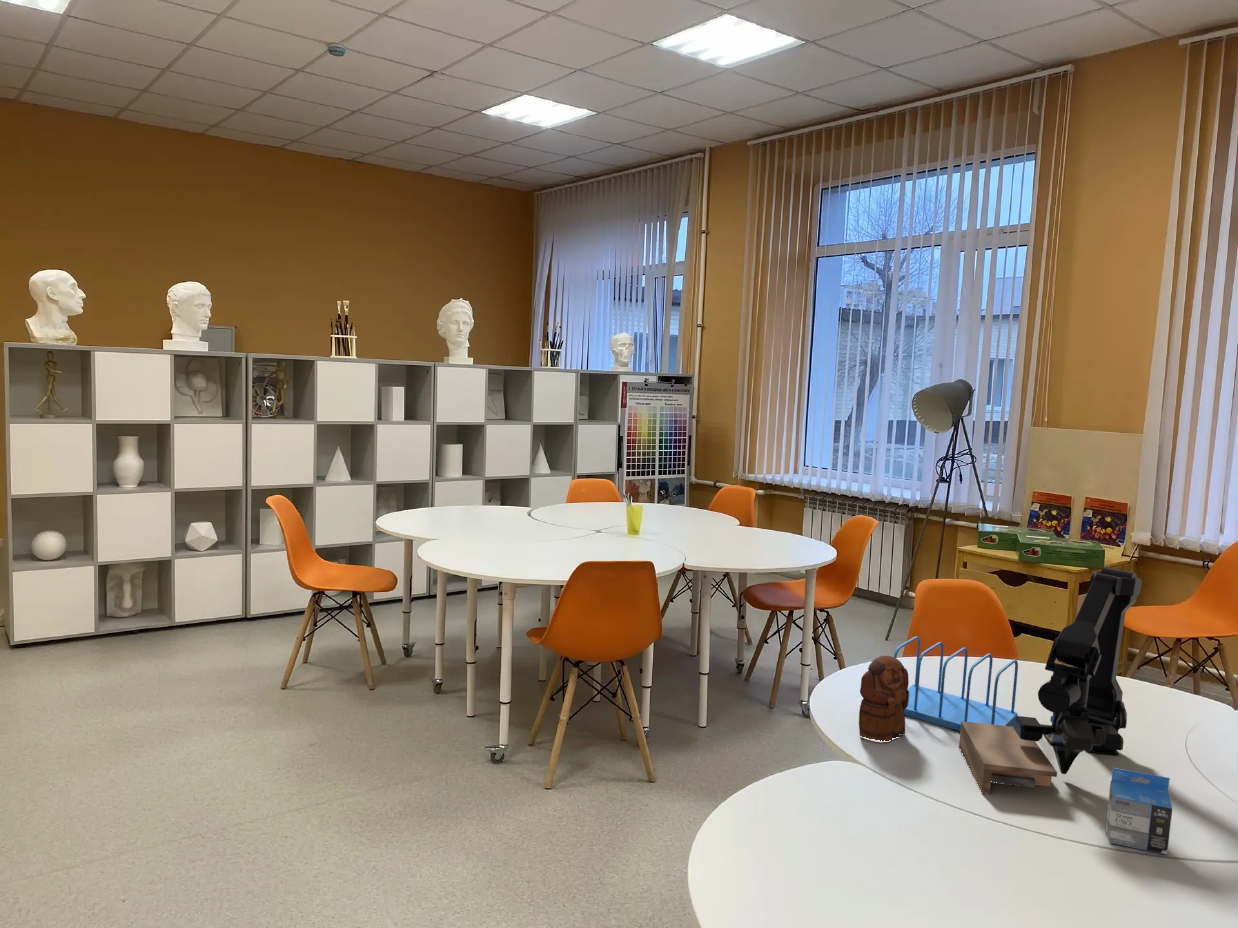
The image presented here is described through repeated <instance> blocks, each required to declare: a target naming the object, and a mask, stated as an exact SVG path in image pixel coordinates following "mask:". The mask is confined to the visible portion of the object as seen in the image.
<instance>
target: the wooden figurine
mask: <svg viewBox="0 0 1238 928" xmlns="http://www.w3.org/2000/svg"><path fill="white" fill-rule="evenodd" d="M867 669H868V670H867V671H865V672H864V674H863V675H862V677H861V681H860V687H859V688H860V689H859V694H860V696H861V697H862V698H863V699H862V700H861V702H860V704H859V705H860V706H859V711H858V712H859V713H858V727H859V728H858V729H859V737H860V736H862V737H866V738H869V739H875V740H880V741H881V740H882V741H884V740H885V741H889V740H891V741H893V740H892V738H896V737H900V738H901V735H899V734H905V735H906V718H905V716H906V715H905V713H904V709H906V708H907V706H908V702H909V691H908V690H907V689H908V688H909V682H910V681H909V671H908V670H907V668H906V667H905V666H904V665H903V663H902V662H901V660H899V659H898V658H894V656H893V655H880V656H878V657H876V658H874V659H873V660H872V661H871V662H870V663H869V665H868V667H867Z"/></svg>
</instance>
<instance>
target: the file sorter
mask: <svg viewBox="0 0 1238 928" xmlns="http://www.w3.org/2000/svg"><path fill="white" fill-rule="evenodd" d="M914 641H917V651H916V652H917V653H916V664H915V665H916V667H915V677H914V684H912V685H910V686H908V689H907V690H908V691H909V702H908V706H907V708H906V709H904V713H905V714H906V715H905V716H908V717H911V716H912V717H911V718H914V717H915V719H918V718H919V719H918V720H921V719H922V721H925V722H928V723H932V724H935V725H938V726H943V727H946V728H949V729H953V730H956V731H959V732H960V729H961V721H965V722H974V723H984V724H993V725H1003V726H1012V725H1014V720H1015V718H1016V717H1017V716H1019V715H1018V714H1019V712H1017V711H1015V705H1016V694H1017V683H1018V671H1019V661H1018V660H1017V659H1016V658H1015V659H1012V660H1011V661H1009V663H1007V664H1005V665H1004V666H1003V667H1002V668H1001V669H1000V670H999V671H998V672H997V674H996V676H995V679H994V680H995V681H994V688H993V697H992V705H991V704H989V703H990V694H991V693H990V692H991V683H992V682H991V681H992V671H993V670H992V669H993V659H994V658H993V655H992V653H986V654H985V655H983V657H981V658H980V659H978V660H976V661H975V662H974V663H973V664H972V665H971V667H970V669H969V672H968V677H967V669H968V657H969V654H968V649H967V648H966V647H962V648H960V649H958V650H957V651H956V652H954V653H953V654H951V655H950V656H947V657H946V659H945V661H944V653H945V652H944V650H945V649H944V648H945V647H944V643H943V642H942V641H939V642H937V643H935V644H934V645H931V646H930V647H929V648H927V649H925V650H924V651H922V652H921V639H920V637H919V636H913V637H911V638H910V639H908V640H907V641H904V642H902V643H901V644H899V645H898V646H897V647H896V649H895V650H894V654H893V657H894V658H896V659H898V658H897V657H898V653H899V651H900V650H901V649H902V648H903V647H905V646H907V645H908V644H910V643H913V642H914ZM939 646H940V661H939V671H938V681H937V683H938V684H937V690H936V689H932V688H929V687H925V686H921V685H920V675H921V667H922V666H921V665H922V661H923V658H924V656H925V655H926V654H928V653H929V652H931V651H933V650H934V649H935V648H938V647H939ZM962 652H964V660H963V661H964V663H963V672H962V673H963V674H962V686H961V695H960V696H958V695H955V694H951V693H949V692H944V691H945V679H946V670H947V665H948V663H949V662H950V661H951V660H952V659H953V658H955V657H956V656H959V654H961V653H962ZM988 658H989V667H988V677H987V686H986V687H987V688H986V697H985V703H984V702H981V701H977V700H973V699H970V693H971V692H970V691H971V682H972V674H973V671H974V669H975V667H977V666H978V665H979V664H981V663H982V662H983V661H985V660H986V659H988ZM943 662H944V664H943ZM1012 665H1014V675H1013V676H1014V677H1013V678H1014V679H1013V685H1012V687H1013V688H1012V697H1011V698H1012V699H1011V709H1006V708H1002V707H998V706H996V705H997V696H998V695H997V693H998V684H999V679H1000V676H1001V674H1002V673H1003V672H1005V671H1006V670H1007V669H1008V668H1010V667H1011V666H1012ZM966 678H967V679H966ZM966 681H967V685H966ZM966 686H967V687H966ZM965 691H966V695H965ZM965 696H966V697H965Z"/></svg>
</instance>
